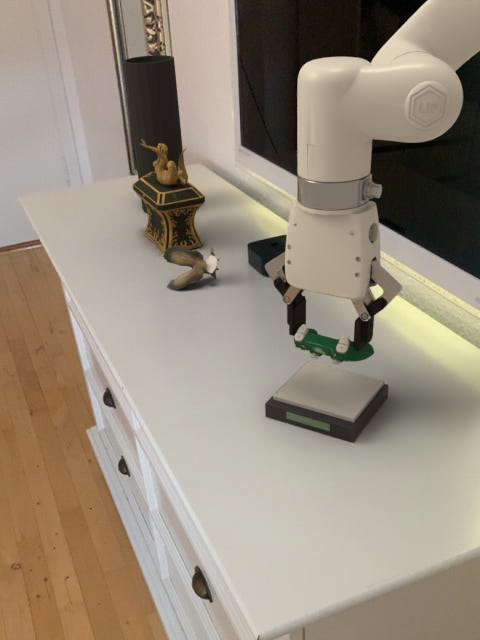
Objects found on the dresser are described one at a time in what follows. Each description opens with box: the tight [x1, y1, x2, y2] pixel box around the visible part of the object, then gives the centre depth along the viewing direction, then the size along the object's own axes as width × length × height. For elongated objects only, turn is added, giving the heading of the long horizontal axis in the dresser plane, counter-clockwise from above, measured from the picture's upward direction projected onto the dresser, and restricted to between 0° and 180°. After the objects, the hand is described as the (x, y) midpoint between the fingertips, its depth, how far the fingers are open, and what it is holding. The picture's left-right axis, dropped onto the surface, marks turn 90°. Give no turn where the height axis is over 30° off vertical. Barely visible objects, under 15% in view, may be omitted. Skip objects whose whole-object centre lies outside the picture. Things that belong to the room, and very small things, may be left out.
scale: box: [264, 361, 390, 443], centre depth 89 cm, size 12×11×3 cm
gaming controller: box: [293, 324, 375, 366], centre depth 84 cm, size 9×4×6 cm
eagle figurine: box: [162, 245, 220, 291], centre depth 122 cm, size 8×7×9 cm
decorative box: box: [132, 139, 206, 254], centre depth 134 cm, size 20×10×20 cm, turn 25°
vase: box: [122, 54, 185, 214], centre depth 149 cm, size 10×10×30 cm
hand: (328, 337), depth 84 cm, fingers closed on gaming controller, 7 cm apart
